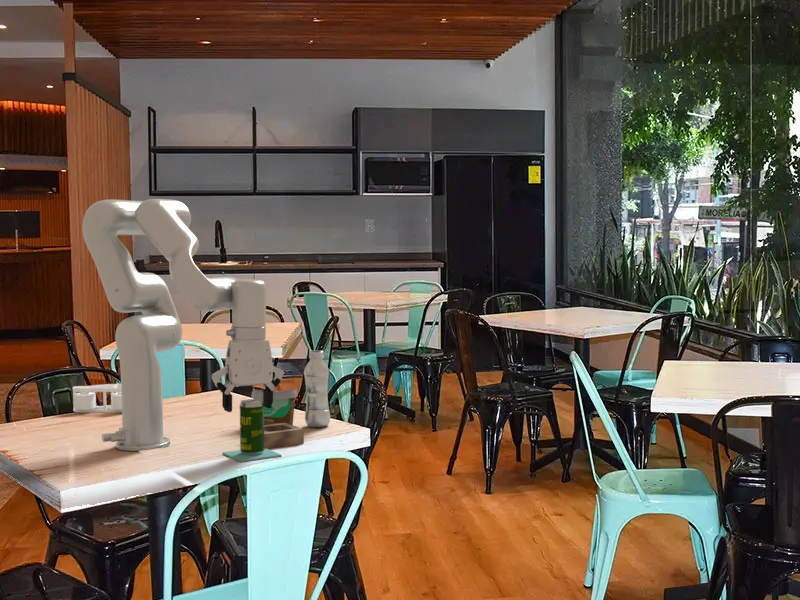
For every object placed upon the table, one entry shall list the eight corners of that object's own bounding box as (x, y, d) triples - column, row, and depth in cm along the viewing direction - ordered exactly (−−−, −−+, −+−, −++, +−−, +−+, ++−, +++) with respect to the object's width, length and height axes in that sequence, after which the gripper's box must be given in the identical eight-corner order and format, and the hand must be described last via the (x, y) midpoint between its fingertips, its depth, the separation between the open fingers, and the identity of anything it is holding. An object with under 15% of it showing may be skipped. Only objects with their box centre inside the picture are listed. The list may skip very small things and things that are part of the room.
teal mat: (240, 462, 211) (240, 460, 211) (222, 454, 220) (222, 452, 220) (281, 456, 217) (281, 454, 217) (262, 448, 225) (262, 446, 225)
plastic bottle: (334, 427, 249) (333, 351, 248) (310, 430, 246) (309, 353, 245) (324, 423, 255) (323, 349, 254) (300, 426, 252) (299, 350, 250)
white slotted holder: (66, 415, 272) (65, 389, 272) (81, 408, 283) (80, 383, 283) (135, 415, 271) (134, 389, 271) (148, 408, 282) (147, 383, 282)
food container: (245, 430, 248) (244, 391, 247) (252, 425, 254) (252, 387, 253) (291, 431, 246) (291, 392, 245) (298, 426, 252) (297, 388, 251)
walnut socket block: (265, 448, 225) (265, 433, 225) (248, 441, 233) (247, 427, 233) (303, 443, 230) (303, 429, 230) (285, 436, 239) (285, 422, 238)
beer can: (251, 449, 222) (250, 398, 221) (269, 452, 219) (268, 400, 218) (235, 454, 218) (234, 401, 217) (253, 456, 215) (252, 403, 214)
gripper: (219, 337, 209) (218, 415, 210) (290, 334, 218) (289, 408, 219) (206, 334, 215) (205, 409, 216) (276, 331, 224) (275, 403, 226)
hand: (247, 409), depth 218 cm, fingers open, 9 cm apart
